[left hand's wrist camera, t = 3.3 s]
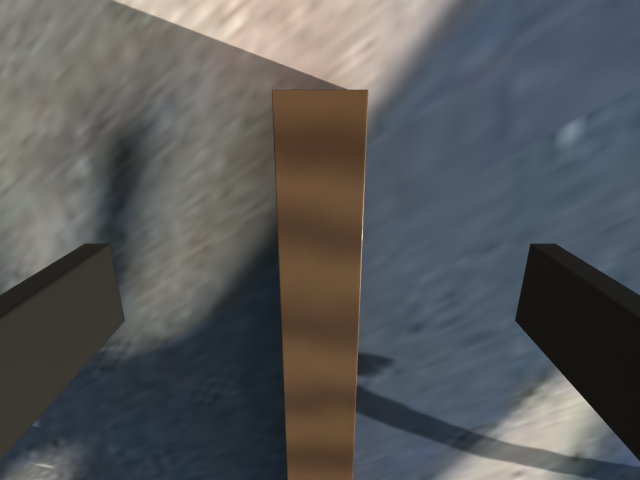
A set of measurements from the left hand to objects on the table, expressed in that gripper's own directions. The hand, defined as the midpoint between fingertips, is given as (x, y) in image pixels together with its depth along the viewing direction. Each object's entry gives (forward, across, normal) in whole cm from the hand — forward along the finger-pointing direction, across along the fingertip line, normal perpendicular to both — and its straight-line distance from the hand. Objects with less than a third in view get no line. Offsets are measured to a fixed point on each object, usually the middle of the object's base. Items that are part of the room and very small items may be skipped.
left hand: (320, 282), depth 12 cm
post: (+21, 0, -22) cm, 30 cm away
